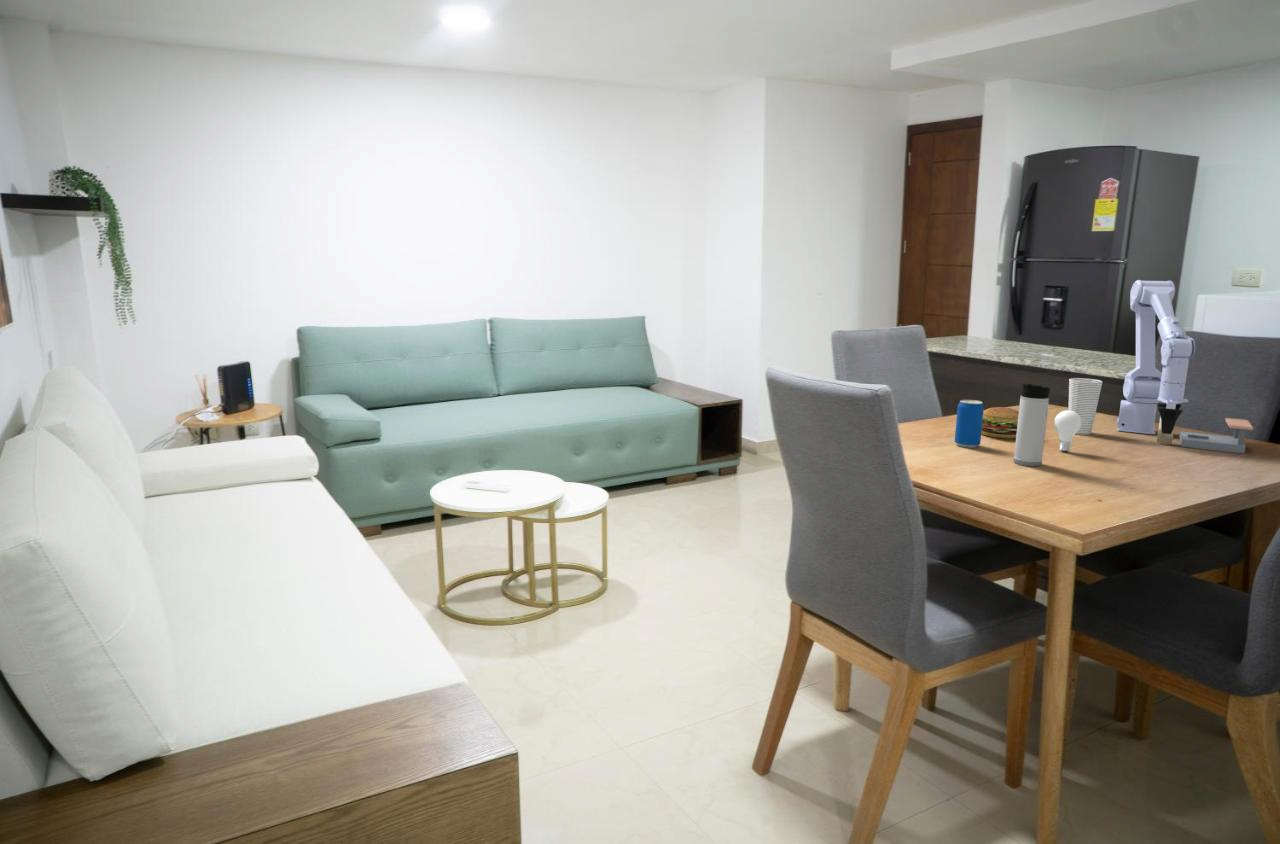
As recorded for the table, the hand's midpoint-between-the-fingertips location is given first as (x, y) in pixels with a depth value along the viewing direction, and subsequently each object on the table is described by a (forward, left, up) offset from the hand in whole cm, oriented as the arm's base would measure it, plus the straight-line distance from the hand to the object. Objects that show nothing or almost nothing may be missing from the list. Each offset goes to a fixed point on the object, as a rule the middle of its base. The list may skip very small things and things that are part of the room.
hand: (1166, 431), depth 229 cm
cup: (-21, +3, -4) cm, 22 cm away
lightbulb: (-23, -27, -4) cm, 36 cm away
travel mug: (-30, -47, -4) cm, 56 cm away
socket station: (+11, +5, -4) cm, 13 cm away
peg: (0, 0, -4) cm, 4 cm away
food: (-40, -14, -4) cm, 43 cm away
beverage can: (-46, -34, -4) cm, 57 cm away
